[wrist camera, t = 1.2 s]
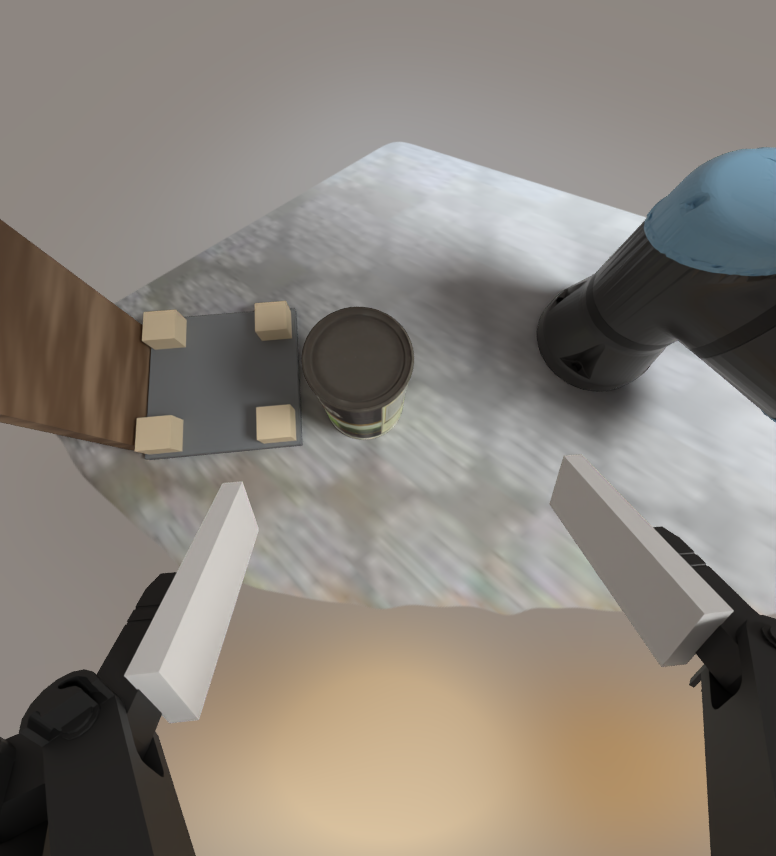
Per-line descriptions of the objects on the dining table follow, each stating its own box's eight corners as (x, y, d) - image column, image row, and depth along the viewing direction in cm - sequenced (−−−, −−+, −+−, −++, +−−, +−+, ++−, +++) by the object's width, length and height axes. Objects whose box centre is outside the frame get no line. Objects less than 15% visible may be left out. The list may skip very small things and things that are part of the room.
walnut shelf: (234, 326, 46) (-347, -374, 9) (235, 440, 43) (-691, 40, 6) (138, 334, 46) (-879, -372, 9) (130, 450, 42) (-1598, 80, 5)
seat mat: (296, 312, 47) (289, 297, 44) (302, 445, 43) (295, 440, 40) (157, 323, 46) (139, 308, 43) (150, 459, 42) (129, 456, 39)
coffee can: (346, 453, 43) (328, 430, 29) (313, 384, 45) (283, 331, 31) (417, 419, 44) (434, 381, 30) (383, 353, 46) (384, 289, 32)
